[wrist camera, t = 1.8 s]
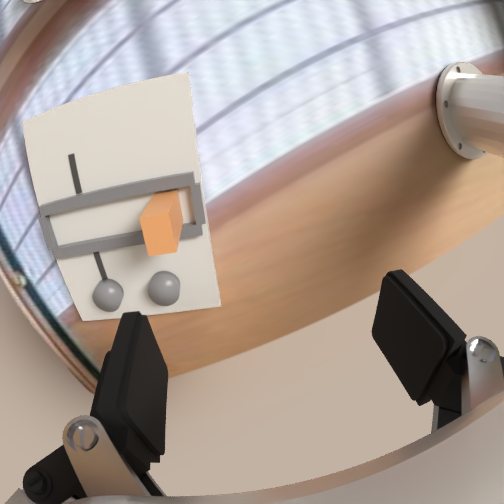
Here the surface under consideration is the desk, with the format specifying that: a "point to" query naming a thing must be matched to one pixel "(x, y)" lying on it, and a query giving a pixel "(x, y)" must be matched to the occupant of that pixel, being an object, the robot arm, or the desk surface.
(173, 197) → the block
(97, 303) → the console
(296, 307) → the desk surface
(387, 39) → the desk surface
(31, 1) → the white ring with post
